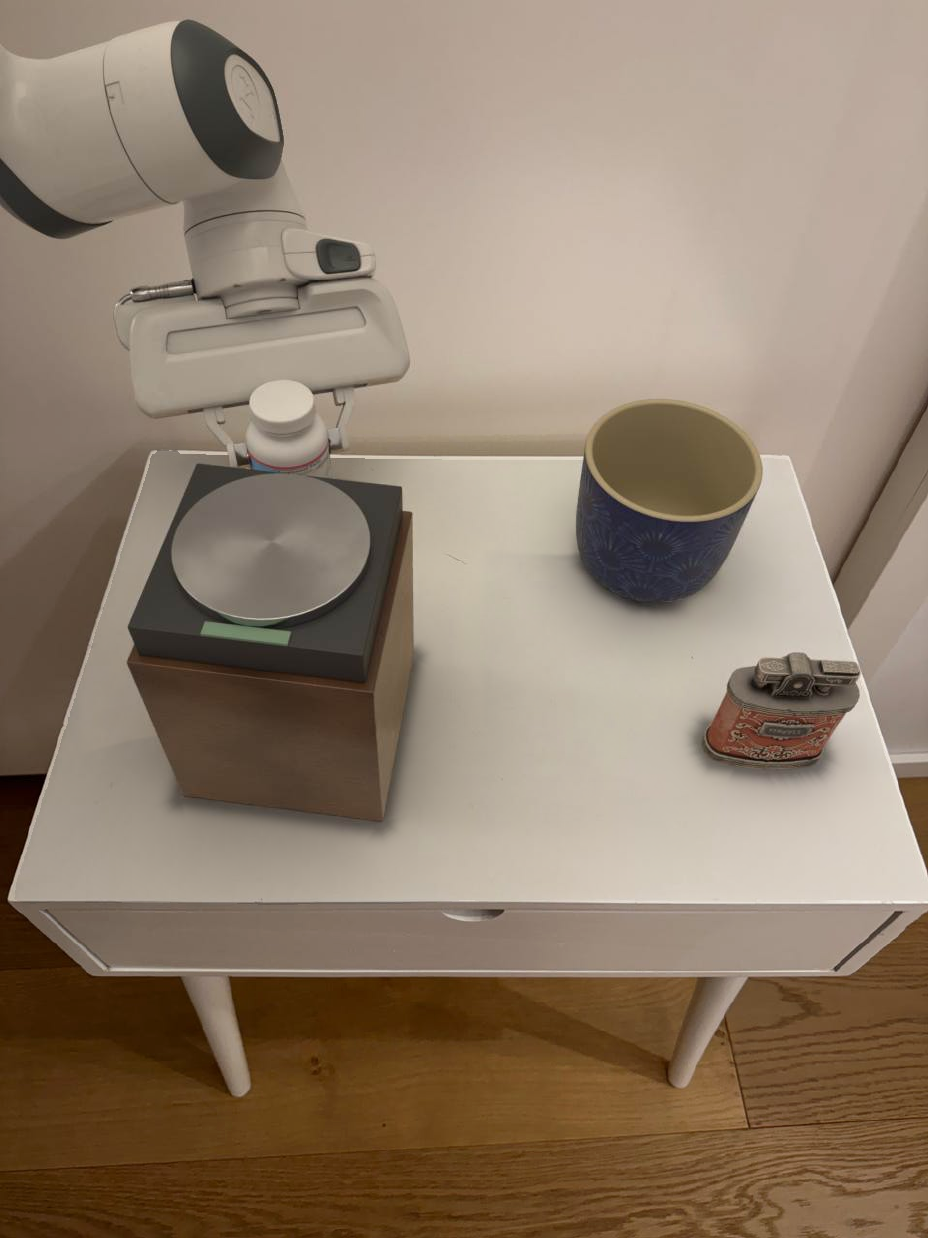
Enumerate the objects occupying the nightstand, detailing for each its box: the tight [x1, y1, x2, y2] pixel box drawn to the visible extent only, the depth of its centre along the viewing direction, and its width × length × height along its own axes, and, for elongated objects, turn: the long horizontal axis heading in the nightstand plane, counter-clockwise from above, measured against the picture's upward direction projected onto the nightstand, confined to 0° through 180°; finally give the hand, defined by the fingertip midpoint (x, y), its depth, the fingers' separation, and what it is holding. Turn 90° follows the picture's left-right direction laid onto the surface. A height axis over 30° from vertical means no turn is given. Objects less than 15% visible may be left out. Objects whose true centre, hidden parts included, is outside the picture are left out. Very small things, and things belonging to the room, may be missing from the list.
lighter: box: [701, 651, 862, 770], centre depth 61 cm, size 8×3×10 cm, turn 88°
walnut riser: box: [126, 510, 415, 822], centre depth 59 cm, size 13×13×15 cm
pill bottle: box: [244, 380, 333, 479], centre depth 72 cm, size 6×6×11 cm
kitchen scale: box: [127, 462, 404, 683], centre depth 52 cm, size 12×12×3 cm
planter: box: [575, 398, 764, 604], centre depth 71 cm, size 12×12×11 cm
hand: (291, 460), depth 72 cm, fingers closed on pill bottle, 6 cm apart
